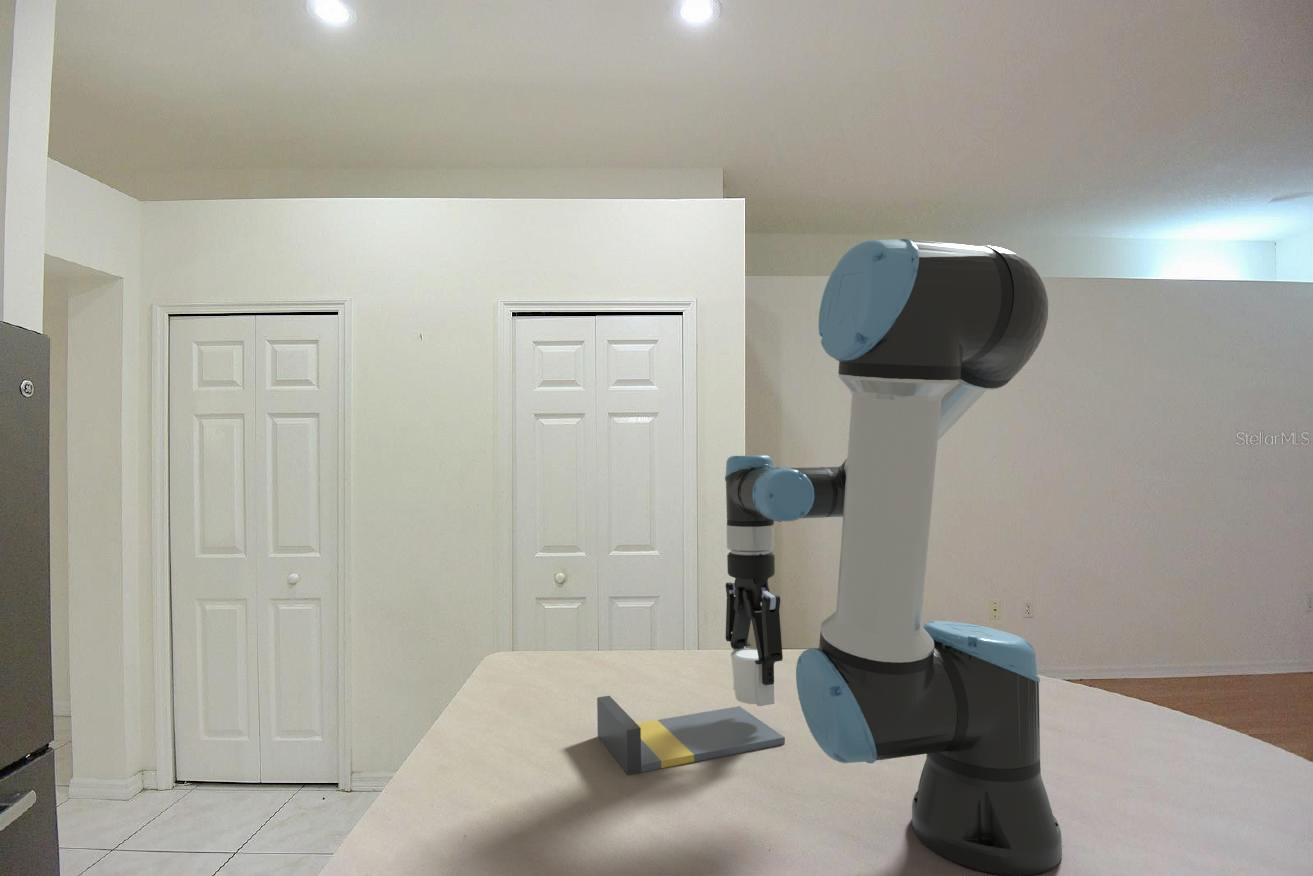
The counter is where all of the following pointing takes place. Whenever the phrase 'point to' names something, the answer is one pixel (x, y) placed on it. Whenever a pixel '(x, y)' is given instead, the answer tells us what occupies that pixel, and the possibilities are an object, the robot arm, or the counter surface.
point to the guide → (679, 736)
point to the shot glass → (745, 674)
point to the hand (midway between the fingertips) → (753, 696)
